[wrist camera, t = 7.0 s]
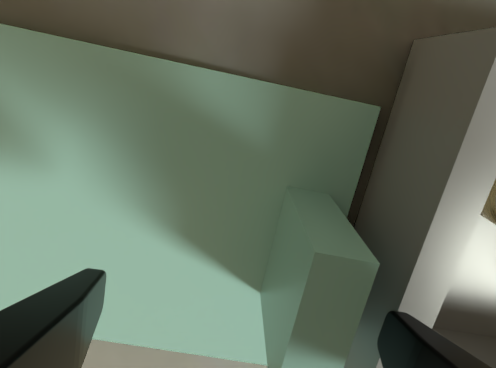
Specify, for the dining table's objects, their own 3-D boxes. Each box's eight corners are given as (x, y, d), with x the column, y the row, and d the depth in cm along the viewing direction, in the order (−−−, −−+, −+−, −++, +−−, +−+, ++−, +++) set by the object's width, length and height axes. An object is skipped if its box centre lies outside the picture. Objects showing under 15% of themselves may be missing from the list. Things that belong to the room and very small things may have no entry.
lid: (296, 355, 15) (327, 502, 10) (-17, 306, 14) (-164, 443, 9) (372, 104, 12) (469, 130, 7) (-15, 20, 11) (-230, -22, 6)
